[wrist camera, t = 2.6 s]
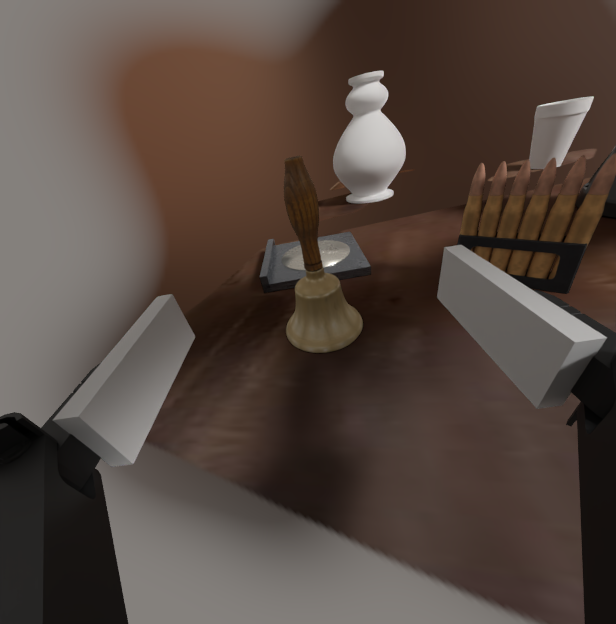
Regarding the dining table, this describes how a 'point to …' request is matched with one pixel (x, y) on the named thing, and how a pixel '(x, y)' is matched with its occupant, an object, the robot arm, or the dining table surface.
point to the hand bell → (315, 275)
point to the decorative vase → (368, 143)
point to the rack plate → (290, 266)
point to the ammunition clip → (535, 223)
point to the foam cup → (556, 130)
